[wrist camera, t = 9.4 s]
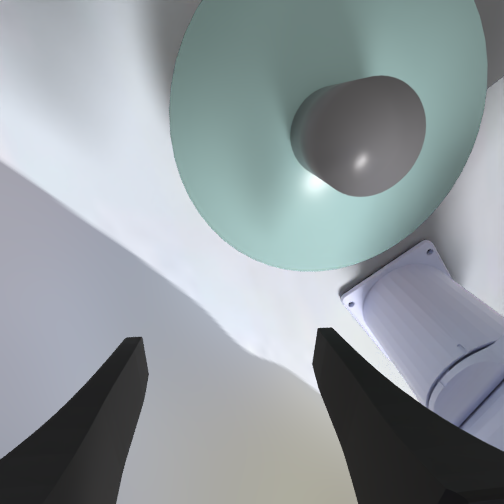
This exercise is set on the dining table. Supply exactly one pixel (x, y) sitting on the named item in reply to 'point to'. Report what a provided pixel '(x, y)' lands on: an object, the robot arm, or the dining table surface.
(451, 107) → the lid
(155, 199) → the dining table surface
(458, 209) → the dining table surface
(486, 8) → the mat
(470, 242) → the dining table surface
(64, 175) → the dining table surface
